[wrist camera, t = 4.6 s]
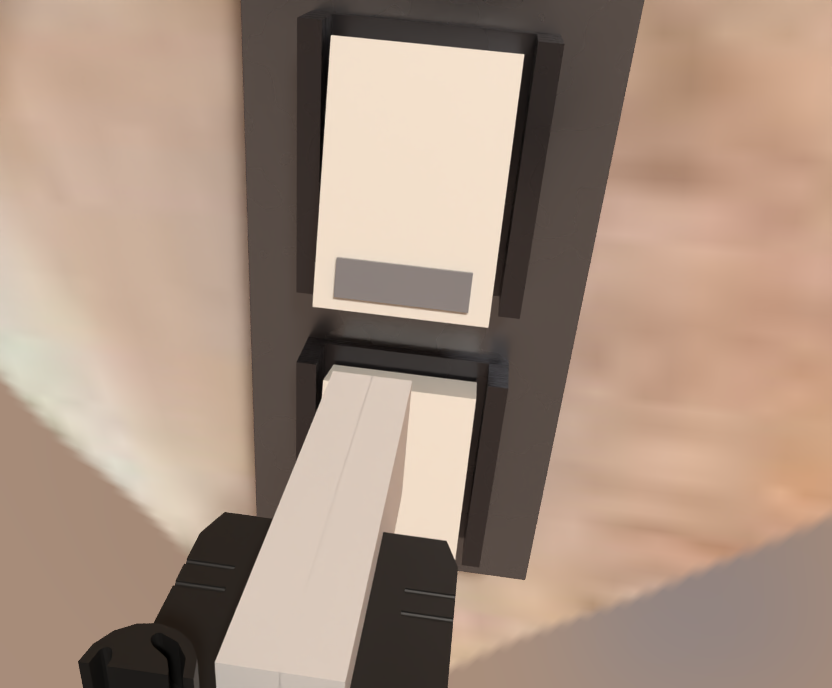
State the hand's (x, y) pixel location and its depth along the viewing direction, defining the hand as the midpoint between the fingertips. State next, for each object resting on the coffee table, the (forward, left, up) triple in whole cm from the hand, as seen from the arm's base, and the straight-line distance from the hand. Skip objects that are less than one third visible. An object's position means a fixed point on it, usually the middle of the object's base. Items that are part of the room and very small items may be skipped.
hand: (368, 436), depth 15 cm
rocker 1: (-3, 0, -7) cm, 7 cm away
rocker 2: (+7, 0, -7) cm, 10 cm away
